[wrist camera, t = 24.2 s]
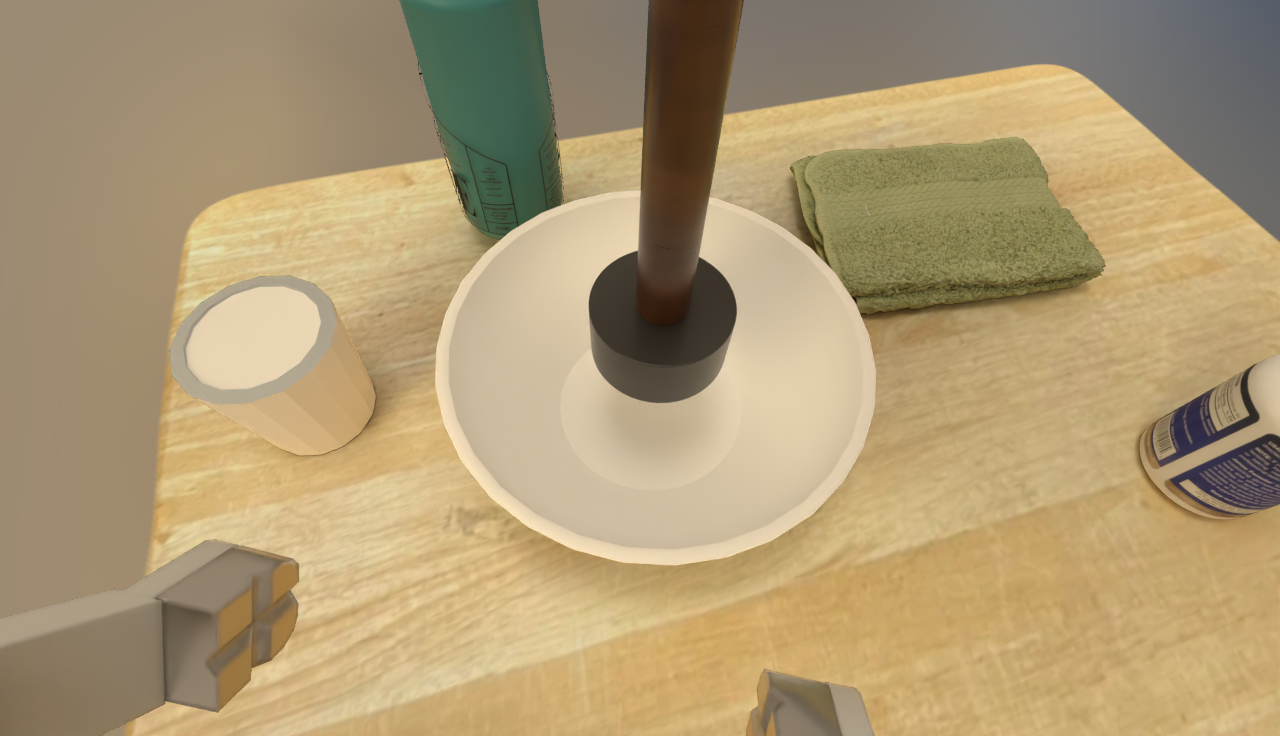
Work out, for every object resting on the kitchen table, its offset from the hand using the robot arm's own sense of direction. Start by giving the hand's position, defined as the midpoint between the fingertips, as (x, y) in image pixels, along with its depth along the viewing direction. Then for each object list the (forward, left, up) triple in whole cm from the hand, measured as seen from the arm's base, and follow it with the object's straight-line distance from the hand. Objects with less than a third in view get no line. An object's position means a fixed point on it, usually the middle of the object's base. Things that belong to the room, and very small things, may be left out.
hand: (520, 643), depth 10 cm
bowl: (-8, +12, -18) cm, 23 cm away
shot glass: (-20, -1, -18) cm, 27 cm away
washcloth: (-5, +35, -18) cm, 39 cm away
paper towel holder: (-8, +11, -11) cm, 18 cm away
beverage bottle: (-24, +15, -18) cm, 33 cm away
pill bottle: (+14, +31, -18) cm, 38 cm away
